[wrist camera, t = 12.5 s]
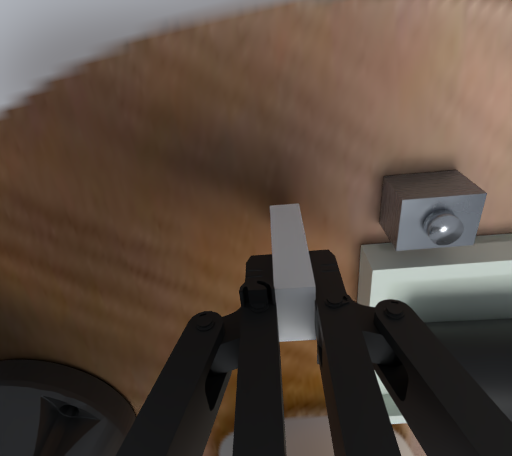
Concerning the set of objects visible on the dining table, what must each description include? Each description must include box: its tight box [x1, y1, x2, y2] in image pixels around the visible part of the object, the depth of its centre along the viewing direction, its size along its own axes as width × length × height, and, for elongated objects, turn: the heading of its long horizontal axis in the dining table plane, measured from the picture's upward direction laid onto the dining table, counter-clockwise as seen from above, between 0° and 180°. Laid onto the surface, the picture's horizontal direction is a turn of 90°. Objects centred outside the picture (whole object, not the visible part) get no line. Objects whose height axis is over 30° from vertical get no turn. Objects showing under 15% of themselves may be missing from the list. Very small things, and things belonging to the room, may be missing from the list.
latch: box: [379, 170, 487, 251], centre depth 19 cm, size 4×3×4 cm
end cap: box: [424, 318, 512, 422], centre depth 22 cm, size 10×7×7 cm
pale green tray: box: [357, 233, 512, 424], centre depth 23 cm, size 16×20×3 cm
